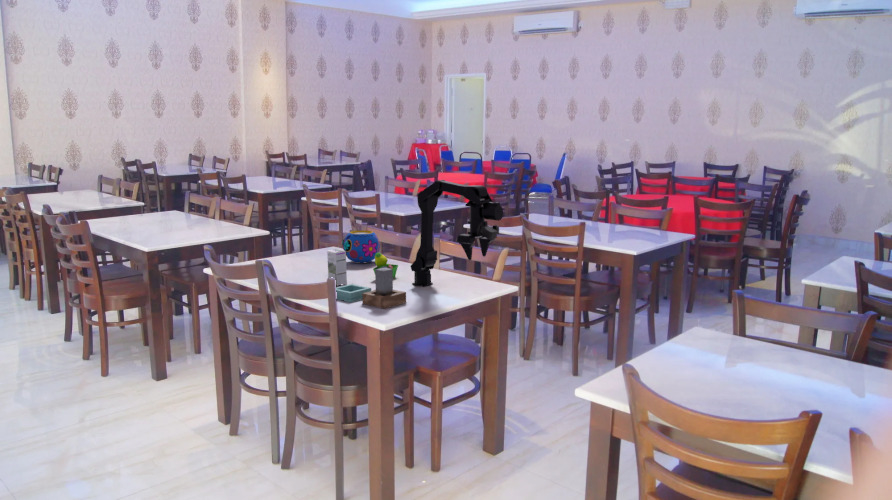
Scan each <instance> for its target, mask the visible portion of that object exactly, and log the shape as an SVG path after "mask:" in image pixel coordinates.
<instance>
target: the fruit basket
mask: <svg viewBox="0 0 892 500" xmlns="http://www.w3.org/2000/svg"><path fill="white" fill-rule="evenodd" d="M374 262H375V266H376V267H374V268H373V269H372V270H373V272H374V274H375V269H380V268H389V269H392V273H393V278H395V277H396V274H397V271H398V267H399V265H398V264H391V263H388V258H387V257H386V256H385V255H383V254H382V253H381V252H379V253H376V254H375V259H374Z"/></svg>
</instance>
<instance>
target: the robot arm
mask: <svg viewBox="0 0 892 500" xmlns="http://www.w3.org/2000/svg"><path fill="white" fill-rule="evenodd" d="M444 192H445V193H450V194H454V195H459V196H462V197H463V198H465V199H466V200H468V201H467V202H466V203H465V204H464V205H465V207H469V220H467V224H468V225H469V230H468V231H467V233H461V234H458V235H457V236H456V242H457V243H458V244H459V245H460V246H461V247H462V249H463V251H464V253H465V255H466V257H467V259H468V261H472V257H473V247H474V246H475V245H476V242H475V241H476V240H477V239H478V241H479V246H480V251H481V255H482V257H484V258H485V257H486V255H487V253H488V250H489V247H490V244H491V243H492V242H493V241H494V240H495V239H497V238H498V237H497V236H498V235H499V234H500V226H499V225H497V224H495V225H493V226H492V225H489V224H488V221H487V220H489V221H499V222H500V221H502V219H503V216H504V209H503V207H502V206H501V202H500V201H497V202H494V201H493V199H492V198H491V196H490V194H489V192H488V190H487V188H486V186H485V185H480V184H479V185H466V184H461V183H457V182H452V181H447V180H445V179H439V180H438V179H437V180H435V181H433V182H432V184H430V185H429V186H427V187H426V188H423V190H420V191H419V192H418V193H417V196H416V199H417V205H418V208H419V210H420V212H421V213H420V214H421V216H420V218H421V219H420V245H419V248H418V249H417V251H416V255H415V259H414V261H413V262H412V264H411V265H410V270H411V272H414V275H413V276H414V282H412V283H411V284H412V286H418V287H426V286H431V285H433V284H434V283H433V282H432V274H431V270H433V269H434V266H435V265H436V263H437V261H438V250H435V249H434V247H433V238H434V237H433V235H434V234H433V232H434V213H435V212H434V211H435V210H436V208H437V206H438V201H439V198H440V197H441V196H442V195H443V193H444Z"/></svg>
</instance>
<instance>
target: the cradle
mask: <svg viewBox="0 0 892 500" xmlns="http://www.w3.org/2000/svg"><path fill="white" fill-rule="evenodd" d="M335 288H336V292H337V299H339V300H338V301H341V300H344V301H343V302H346V301H347V302H346V303H350V302H351V303H354V301H355V302H358V301H363V297H362V293H366V292H370V291H372V287H370V286H369V287H368V286H363V285H359V284H354V283H350V284H345V285H341V286H336V287H335ZM337 299H336V300H337Z"/></svg>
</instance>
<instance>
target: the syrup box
mask: <svg viewBox="0 0 892 500" xmlns="http://www.w3.org/2000/svg"><path fill="white" fill-rule="evenodd" d="M326 252H327V269H328V270H327V272H328V273H327V277H328V279H329V278H331V277H333V278H335V280H336V285H341V284H345V285H348V280H347V279H348V275H347V273H348V272H347V256H346V251H344V250H343V249H337V248H335V249H328V250H327V251H326ZM341 286H342V285H341Z"/></svg>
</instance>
